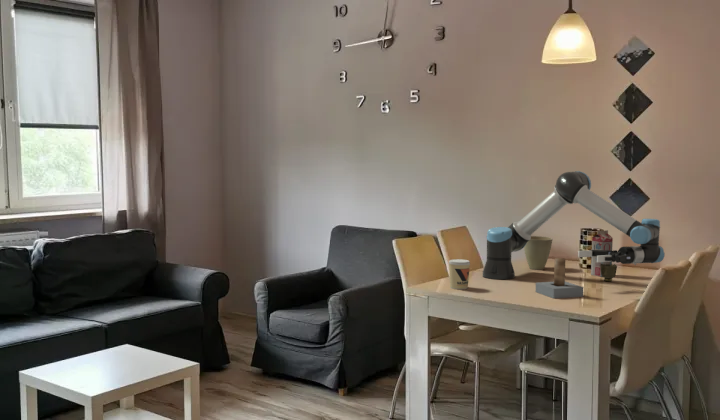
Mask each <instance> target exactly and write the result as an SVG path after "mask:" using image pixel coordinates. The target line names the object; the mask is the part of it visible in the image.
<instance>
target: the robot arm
mask: <svg viewBox="0 0 720 420" xmlns="http://www.w3.org/2000/svg"><path fill="white" fill-rule="evenodd" d="M591 181H592V180H591V179H590V176H588V174H587V173H585V172H583V171H579V170H578V171H567V172H564V173H561V174H560V175H559V176H558V178H557V179H556V183H555V185H554V187H553V188H554V190H553V191H552V192H550V194H548V195H547V196H546V198H544V199H542V200H541V202H539V203H538V204H537V205H536V206H534V208H533V209H532V210H530V211H529V212H528V213H527V214H526V215H524V217H522V218H521V219H520V220H519V221H513V222H512V223H511V224H510V225H508V226H507V227H506V226H497V227H491V228H489V229H488V230H487V233H486V234H487V235H486V261H485V264H484V266H483V270H482V277H483V278H486V279H494V280H512V279H514V278H515V277H516V276H515V275H516V273H515V270H514V266H513V263H512V253H514V252H519V251H521V250H522V249H524V247H525V245H526V243H527V242H528V241H529V240H530V239H531V236H532V235H533V234H534V233H535V232H536V231H537V230H539V229H540V228H541V227H542V226H543V225H545V223H546V222H548V221H549V220H550V219H551V218H552V217H553V216H555V215H556V214H557V213H559V211H560V210H562V209H563V208H564V207H565V206H567V205H573V204H574V205H575V204H579V205H580V206H581V207H584V209H586V210H588V211H589V212H591V213H593V214H594V215H595V216H597V217H599V218H600V219H602V220H603V221H605V223H608V224H609V225H611V226H612V227H614V228H615V229H617V230H619V231H620V232H622V233H624V234H625V235H626V236H628V237H629V238H630V240H631V241H632V242H633V243H634V244H637V245H633V246H632V245H630V246H621V247H619V249H618V250H617V249H616V250H614V249H612V250H592V248H591V249H589V250H578V251H577V257H578V258H590V259H592V256H596V257H597V262H611V261H612V263H616V264H618V263H620V264H622V265H630V264H634V265H635V266H636V265H637V264H656V263H661V262H662V261H664V258H665V251H664V250H665V249H664V248H663V247H662V246H661V245H660V230H661V223H660V222H661V221H660V220H659V219H656V218H643V219H642V220H641V222H640V221H639V220H637V219H635V218H634V217H633V216H631V215H629V214H628V213H626V212H625V211H623V210H622V209H620V208H618V207H617V206H615V205H614V204H612V203H611V202H609V201H607V200H606V199H605V198H603V197H602V196H600V195H598V194H597V193H594V192H593V191H592V190H591V188H592V182H591Z"/></svg>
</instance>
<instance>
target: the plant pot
mask: <svg viewBox="0 0 720 420" xmlns="http://www.w3.org/2000/svg"><path fill="white" fill-rule="evenodd" d="M552 244H553V238H552V237H549V236H540V235H539V236H537V235H536V236H535V235H531V239H530V240H529V241H528V242H527V243H526V245H525V247H524V248H523V251H524V255H525V259H526V263H527V266H528V268H529V269H531V270H544V269H545V268H546V265H547V262H548V259H549V255H550V252H551V249H552Z"/></svg>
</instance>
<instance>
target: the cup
mask: <svg viewBox="0 0 720 420" xmlns="http://www.w3.org/2000/svg"><path fill="white" fill-rule="evenodd" d="M600 268H601V275H602V277H601V278H603V280H604V282H607V283H612V282H613V279H614V278H615V277H616V274H617V271H618V270H617V268H618V265H617V264H615V263H614V264H613V263H612V264H611V266H610V264H606V265H605V264H602V263H601V264H600Z"/></svg>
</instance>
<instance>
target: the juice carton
mask: <svg viewBox="0 0 720 420" xmlns="http://www.w3.org/2000/svg"><path fill="white" fill-rule="evenodd" d="M613 239H614V238H613V236H611V235H610V234H609V230H597V234H595V235H593V236H592V237H591V250H612V251H613V241H614V240H613ZM601 263H602V264H605V265H606V264H610V266H611V264H612V265H613V262H612V261H611V262H597V257H596V256H592V257H591V265H590V266H591V267H590V269H591V271H590V275H591V276H595V277H601V278H603V277H602V275H601V268H600V264H601Z"/></svg>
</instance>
